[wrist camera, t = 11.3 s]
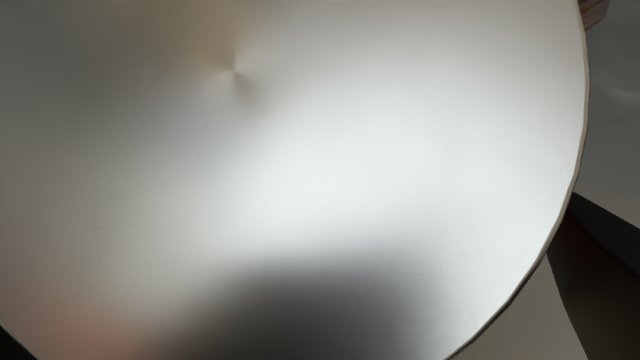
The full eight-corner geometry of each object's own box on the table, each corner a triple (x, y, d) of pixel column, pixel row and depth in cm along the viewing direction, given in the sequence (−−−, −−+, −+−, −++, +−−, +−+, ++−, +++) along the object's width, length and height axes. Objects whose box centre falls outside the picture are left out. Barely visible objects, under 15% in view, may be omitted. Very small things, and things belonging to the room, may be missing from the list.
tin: (420, 278, 17) (665, 433, 3) (265, 287, 17) (-106, 452, 4) (405, 125, 18) (544, -277, 4) (258, 138, 18) (-61, -175, 5)
